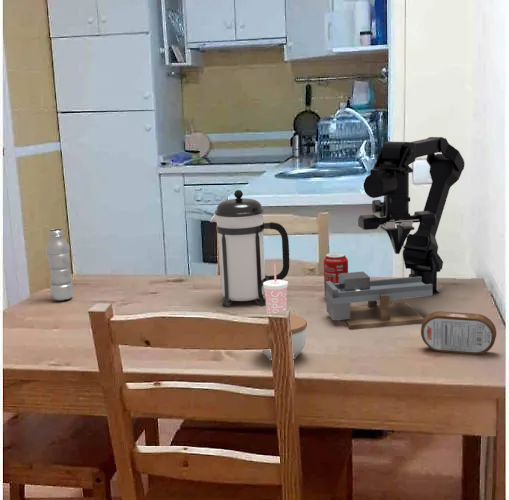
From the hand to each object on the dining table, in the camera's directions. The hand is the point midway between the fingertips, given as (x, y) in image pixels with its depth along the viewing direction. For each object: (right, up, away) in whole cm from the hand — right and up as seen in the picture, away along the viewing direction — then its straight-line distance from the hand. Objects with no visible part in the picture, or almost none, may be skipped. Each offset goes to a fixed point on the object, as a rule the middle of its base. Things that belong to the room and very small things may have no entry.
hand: (397, 253), depth 179 cm
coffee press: (-38, -13, +11) cm, 41 cm away
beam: (-6, -14, -8) cm, 17 cm away
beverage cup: (-31, -16, -5) cm, 35 cm away
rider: (-12, -9, -10) cm, 18 cm away
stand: (-6, -15, -8) cm, 18 cm away
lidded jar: (-30, -22, -30) cm, 48 cm away
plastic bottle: (-90, -13, +20) cm, 93 cm away
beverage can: (-14, -12, +9) cm, 21 cm away
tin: (+6, -21, -32) cm, 38 cm away
